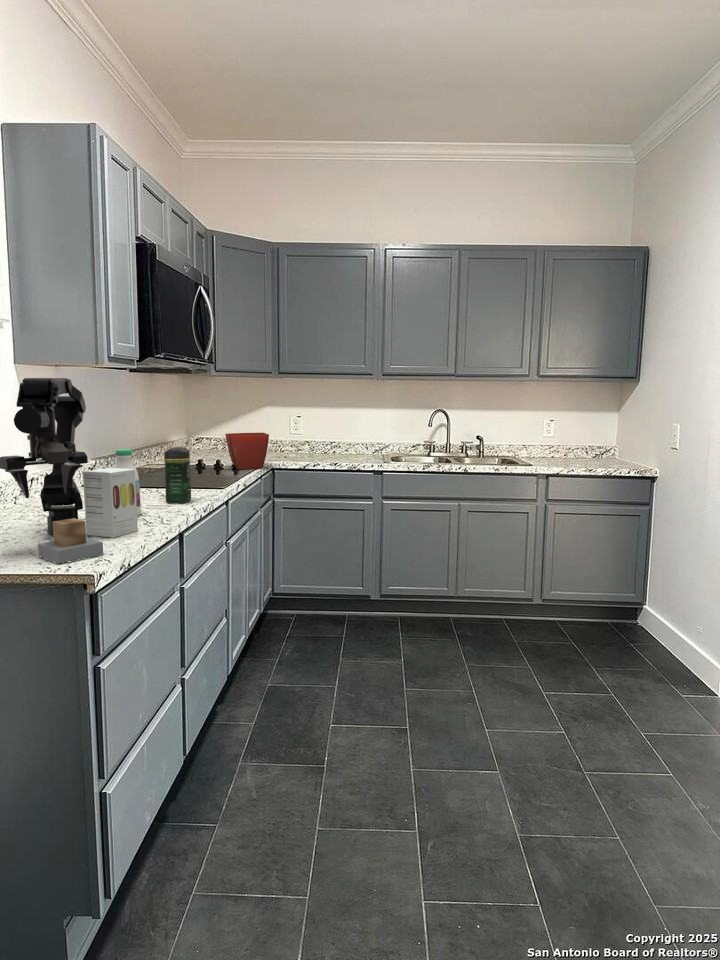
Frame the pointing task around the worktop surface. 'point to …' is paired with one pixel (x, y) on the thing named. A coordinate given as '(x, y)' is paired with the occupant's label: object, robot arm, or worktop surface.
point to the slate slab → (70, 551)
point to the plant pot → (247, 449)
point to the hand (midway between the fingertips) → (47, 495)
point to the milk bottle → (126, 463)
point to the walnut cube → (69, 532)
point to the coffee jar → (177, 475)
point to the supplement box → (110, 502)
